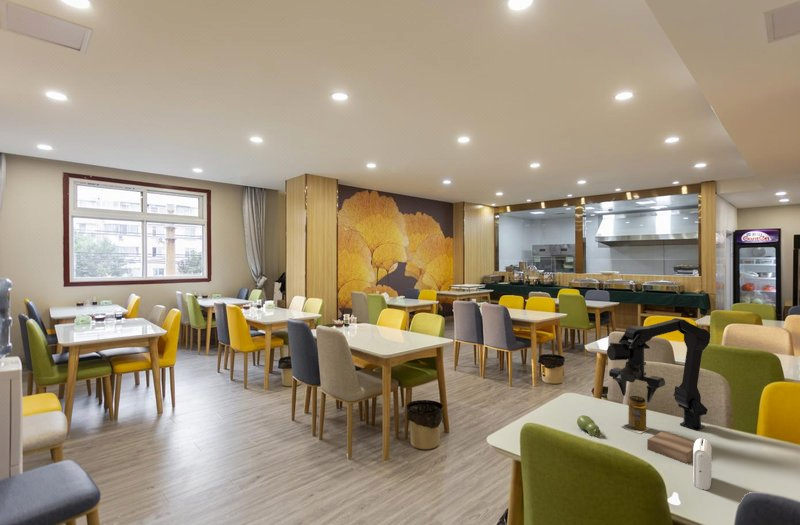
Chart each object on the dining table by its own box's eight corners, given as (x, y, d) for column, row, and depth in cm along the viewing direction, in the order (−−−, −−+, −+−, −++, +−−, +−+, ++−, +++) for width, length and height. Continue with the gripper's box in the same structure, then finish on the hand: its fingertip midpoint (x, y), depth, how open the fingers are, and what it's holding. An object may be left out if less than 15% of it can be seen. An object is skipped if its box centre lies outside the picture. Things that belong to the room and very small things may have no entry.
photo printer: (710, 492, 114) (710, 449, 114) (692, 486, 117) (692, 445, 117) (712, 477, 122) (712, 437, 122) (694, 472, 125) (694, 433, 125)
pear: (586, 412, 160) (605, 426, 150) (584, 424, 161) (603, 439, 151) (574, 413, 158) (592, 427, 149) (573, 425, 159) (591, 440, 150)
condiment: (650, 428, 157) (650, 398, 156) (640, 434, 152) (640, 403, 152) (631, 422, 163) (631, 393, 163) (620, 427, 158) (620, 397, 158)
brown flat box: (663, 441, 147) (663, 430, 146) (701, 454, 137) (701, 443, 137) (647, 450, 140) (647, 439, 140) (686, 465, 130) (686, 453, 130)
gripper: (601, 357, 160) (601, 396, 160) (651, 368, 145) (652, 410, 145) (616, 353, 166) (616, 390, 167) (665, 363, 151) (665, 404, 151)
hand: (636, 398), depth 157 cm, fingers open, 9 cm apart
